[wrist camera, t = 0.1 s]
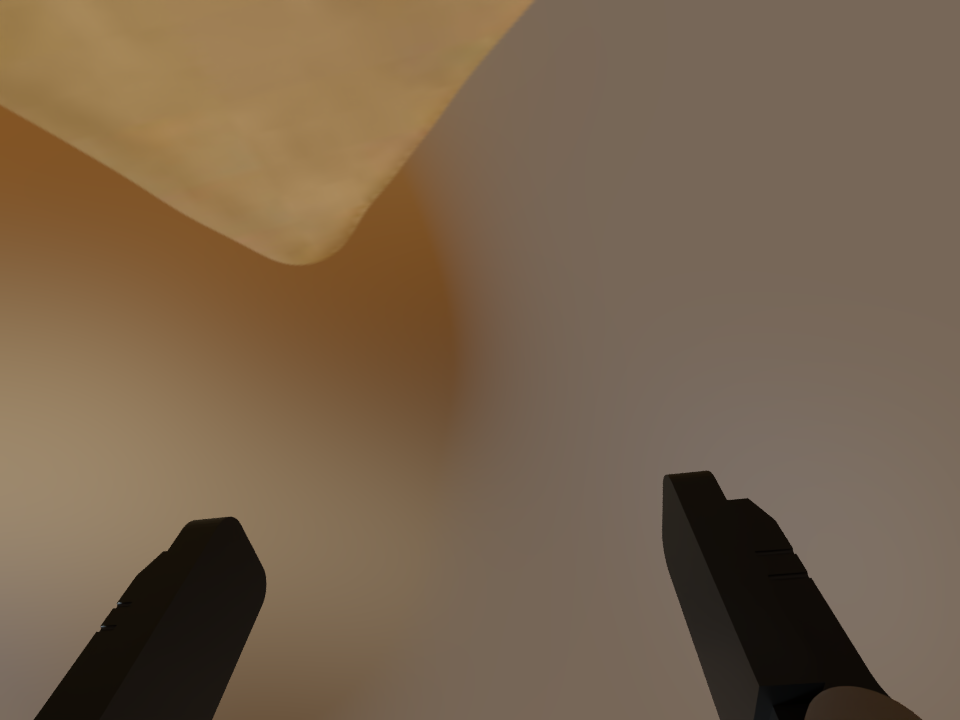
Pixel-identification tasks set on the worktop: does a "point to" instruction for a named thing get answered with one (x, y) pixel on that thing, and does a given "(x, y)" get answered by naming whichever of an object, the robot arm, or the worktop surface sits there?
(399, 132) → the worktop surface
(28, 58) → the worktop surface
